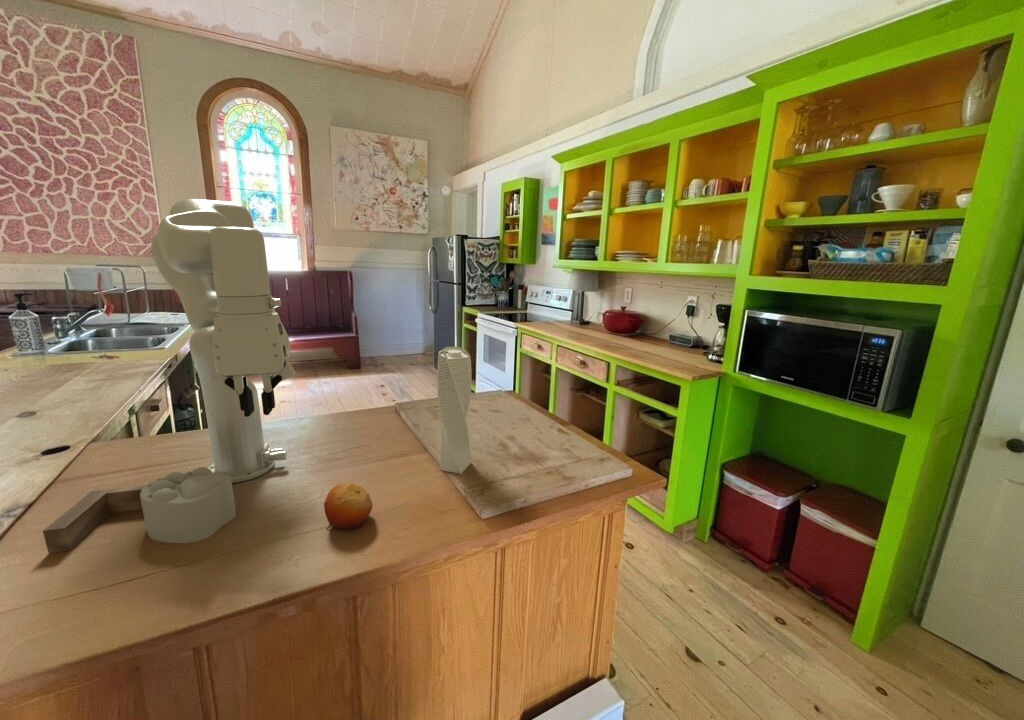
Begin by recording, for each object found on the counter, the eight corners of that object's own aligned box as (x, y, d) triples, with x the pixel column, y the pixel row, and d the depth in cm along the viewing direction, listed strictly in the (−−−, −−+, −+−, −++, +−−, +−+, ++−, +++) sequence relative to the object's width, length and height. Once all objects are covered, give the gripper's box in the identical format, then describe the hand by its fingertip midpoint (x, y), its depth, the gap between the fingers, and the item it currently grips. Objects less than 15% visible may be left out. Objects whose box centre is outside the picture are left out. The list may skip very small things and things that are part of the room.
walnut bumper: (184, 500, 83) (181, 481, 82) (153, 539, 72) (148, 517, 71) (96, 511, 79) (91, 491, 78) (48, 553, 68) (42, 530, 67)
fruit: (322, 503, 80) (343, 468, 79) (362, 522, 82) (382, 488, 80) (306, 530, 72) (328, 492, 71) (350, 550, 74) (372, 513, 73)
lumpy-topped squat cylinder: (198, 545, 71) (190, 497, 69) (127, 538, 72) (116, 490, 70) (244, 509, 81) (238, 466, 79) (181, 503, 82) (173, 461, 80)
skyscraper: (463, 478, 93) (461, 349, 86) (432, 472, 95) (428, 346, 89) (478, 462, 100) (477, 341, 94) (448, 457, 102) (446, 339, 96)
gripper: (303, 303, 77) (312, 402, 81) (197, 304, 73) (213, 409, 77) (294, 308, 70) (305, 417, 74) (177, 310, 66) (196, 425, 70)
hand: (259, 412), depth 76 cm, fingers closed
